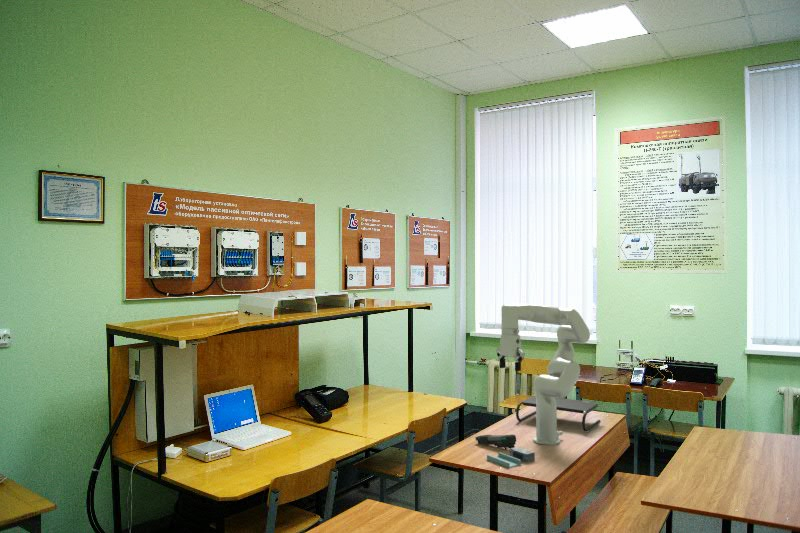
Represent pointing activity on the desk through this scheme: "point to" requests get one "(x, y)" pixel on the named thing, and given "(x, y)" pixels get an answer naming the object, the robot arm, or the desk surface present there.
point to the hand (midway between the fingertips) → (510, 369)
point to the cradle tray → (504, 460)
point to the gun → (497, 440)
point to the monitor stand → (563, 408)
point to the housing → (522, 454)
